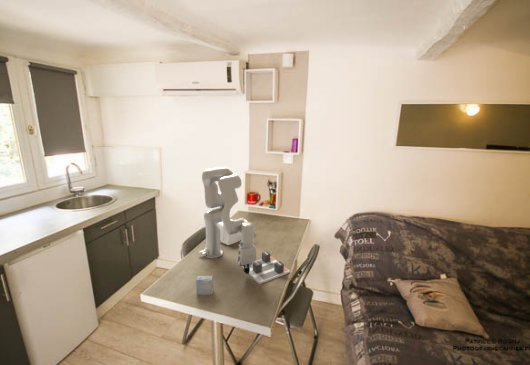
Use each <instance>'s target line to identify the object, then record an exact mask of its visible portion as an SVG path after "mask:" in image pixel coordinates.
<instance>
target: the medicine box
mask: <svg viewBox="0 0 530 365" xmlns="http://www.w3.org/2000/svg"><path fill="white" fill-rule="evenodd" d="M195 283H196V284H195V287H196V295H197V296H211V295H213V291H214V276H213V275H198V276H197V278H196V280H195Z"/></svg>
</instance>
